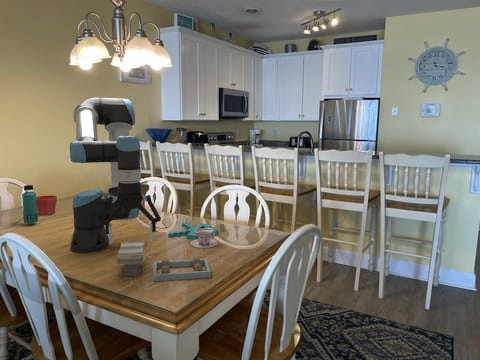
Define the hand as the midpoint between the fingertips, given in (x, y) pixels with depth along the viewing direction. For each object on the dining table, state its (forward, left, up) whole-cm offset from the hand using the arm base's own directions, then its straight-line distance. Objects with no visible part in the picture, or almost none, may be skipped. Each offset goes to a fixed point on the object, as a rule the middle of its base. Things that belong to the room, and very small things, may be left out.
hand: (131, 242), depth 128 cm
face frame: (+17, -5, -10) cm, 20 cm away
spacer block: (0, 0, -10) cm, 10 cm away
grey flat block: (0, 0, -5) cm, 5 cm away
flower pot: (-53, +89, -11) cm, 105 cm away
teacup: (+28, +25, -11) cm, 39 cm away
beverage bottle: (-54, +67, -11) cm, 87 cm away
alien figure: (+26, +41, -11) cm, 50 cm away
